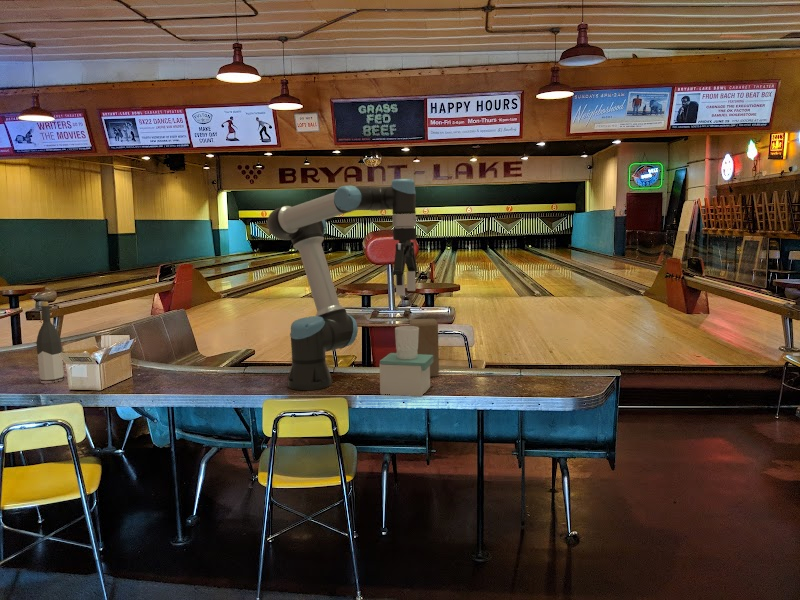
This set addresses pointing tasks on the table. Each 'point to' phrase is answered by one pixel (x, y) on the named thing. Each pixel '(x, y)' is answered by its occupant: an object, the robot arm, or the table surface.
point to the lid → (419, 361)
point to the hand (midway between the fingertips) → (406, 293)
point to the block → (428, 341)
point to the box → (404, 380)
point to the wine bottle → (49, 349)
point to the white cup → (407, 342)
